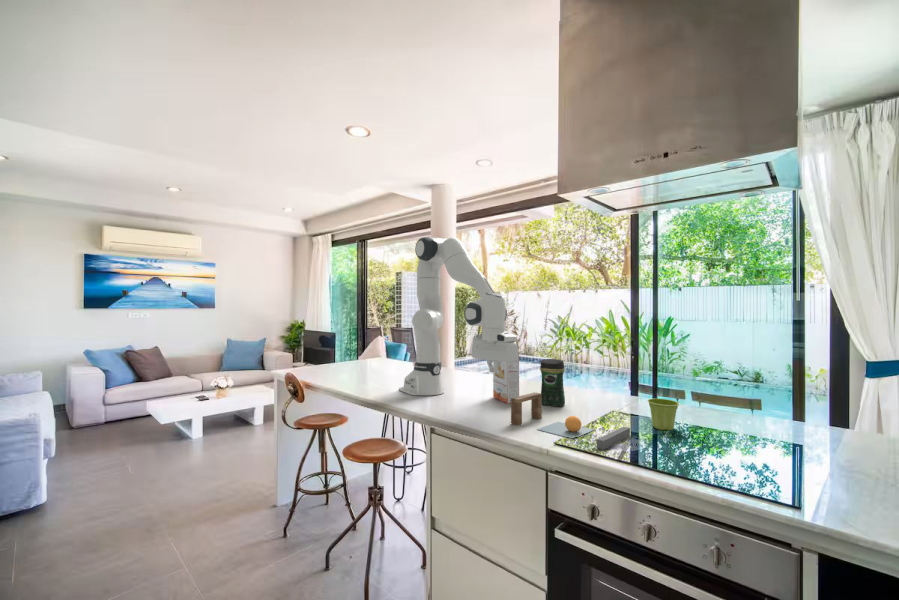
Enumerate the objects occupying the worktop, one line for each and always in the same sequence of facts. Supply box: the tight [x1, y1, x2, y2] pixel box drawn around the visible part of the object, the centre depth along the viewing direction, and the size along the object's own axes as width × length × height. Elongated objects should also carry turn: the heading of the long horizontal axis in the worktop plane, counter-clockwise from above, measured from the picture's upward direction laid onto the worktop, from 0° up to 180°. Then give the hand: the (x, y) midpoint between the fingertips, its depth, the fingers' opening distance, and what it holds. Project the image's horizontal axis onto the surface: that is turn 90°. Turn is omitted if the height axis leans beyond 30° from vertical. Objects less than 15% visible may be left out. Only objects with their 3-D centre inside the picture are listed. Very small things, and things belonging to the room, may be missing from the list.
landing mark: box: [536, 421, 595, 439], centre depth 133 cm, size 13×13×1 cm
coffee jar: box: [539, 358, 566, 407], centre depth 168 cm, size 10×8×19 cm
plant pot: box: [647, 398, 680, 431], centre depth 136 cm, size 9×9×9 cm
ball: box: [564, 415, 582, 432], centre depth 131 cm, size 5×5×5 cm
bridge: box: [510, 391, 543, 426], centre depth 144 cm, size 3×14×9 cm, turn 134°
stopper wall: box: [596, 426, 631, 451], centre depth 121 cm, size 2×18×2 cm, turn 134°
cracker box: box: [492, 352, 520, 405], centre depth 176 cm, size 14×6×21 cm, turn 19°
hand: (493, 372), depth 154 cm, fingers closed
